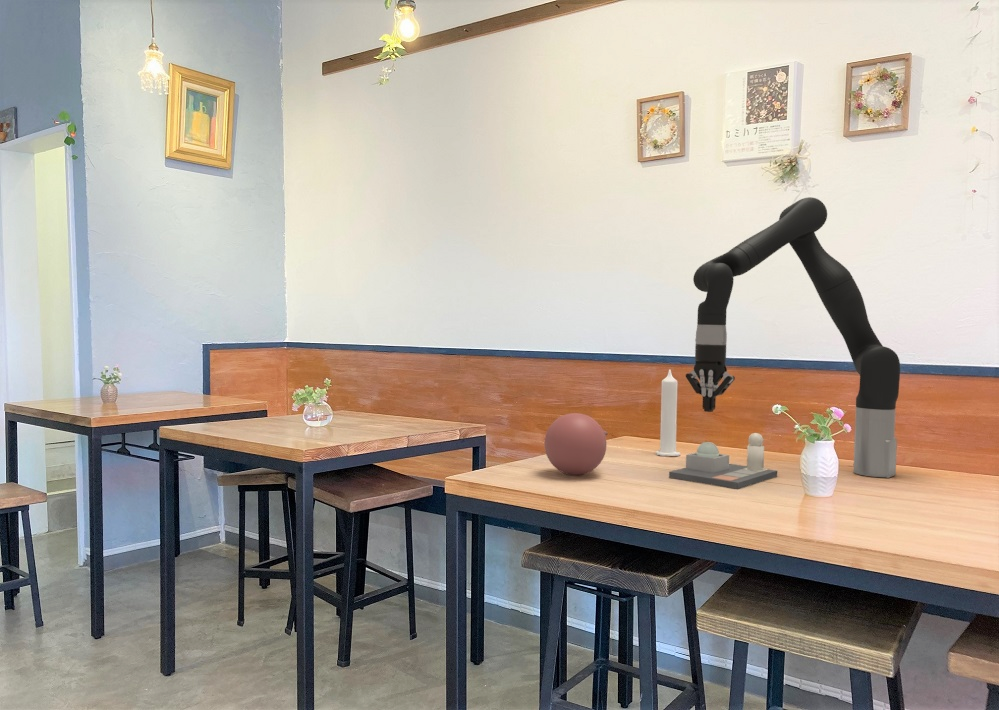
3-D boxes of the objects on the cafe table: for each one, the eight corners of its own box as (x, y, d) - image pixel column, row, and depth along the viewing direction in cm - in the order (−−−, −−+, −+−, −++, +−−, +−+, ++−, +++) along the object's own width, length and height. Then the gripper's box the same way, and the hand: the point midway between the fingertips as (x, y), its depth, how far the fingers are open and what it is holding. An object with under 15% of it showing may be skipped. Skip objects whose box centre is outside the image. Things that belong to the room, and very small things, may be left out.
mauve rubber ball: (630, 474, 191) (632, 413, 191) (575, 483, 178) (576, 418, 178) (586, 464, 203) (587, 407, 202) (531, 473, 190) (532, 412, 190)
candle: (654, 456, 219) (657, 369, 218) (655, 452, 226) (657, 368, 225) (680, 457, 217) (682, 370, 216) (680, 453, 224) (682, 369, 223)
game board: (777, 476, 191) (777, 456, 191) (738, 489, 175) (738, 467, 175) (711, 466, 203) (712, 448, 203) (669, 477, 187) (669, 457, 187)
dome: (722, 463, 192) (723, 442, 192) (712, 465, 188) (712, 444, 188) (702, 460, 196) (703, 439, 196) (692, 462, 192) (693, 441, 192)
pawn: (766, 469, 192) (767, 433, 192) (759, 471, 189) (760, 434, 189) (751, 467, 195) (751, 431, 194) (744, 469, 192) (745, 432, 191)
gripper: (742, 344, 189) (740, 413, 190) (694, 342, 198) (692, 408, 199) (728, 344, 184) (726, 415, 184) (679, 342, 193) (677, 410, 193)
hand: (708, 411), depth 192 cm, fingers closed
